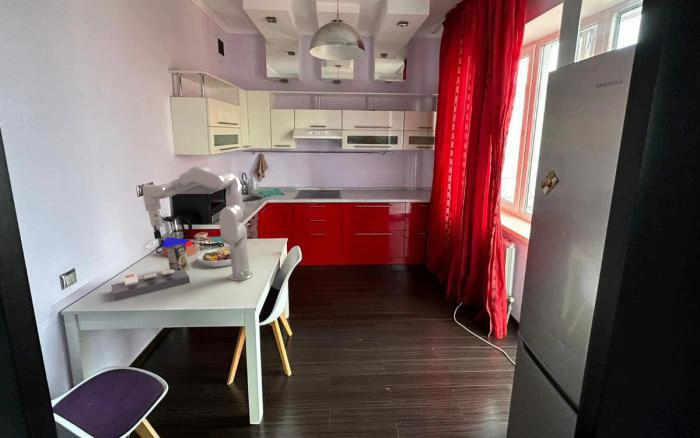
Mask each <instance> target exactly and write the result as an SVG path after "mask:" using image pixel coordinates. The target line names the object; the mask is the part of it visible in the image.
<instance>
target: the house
mask: <svg viewBox="0 0 700 438" xmlns="http://www.w3.org/2000/svg"><path fill="white" fill-rule="evenodd" d="M176 244H185V246H186V254H187V258H188V257H190V256H193V255H196V254H197V253H198V252H197V251H198V250H197V244H196V243H195V242H194V241H192V240H190V239H186V238H178V237H168V236H167V237H166V238H165V239H164V241H163V242H162V244H161V246H160V247H161V250H162V255H163V256H164V257H165V256H166V257H168V253H167V248H169V247H172V246H174V245H176ZM195 253H196V254H195Z"/></svg>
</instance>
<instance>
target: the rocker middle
mask: <svg viewBox="0 0 700 438" xmlns="http://www.w3.org/2000/svg"><path fill="white" fill-rule="evenodd" d="M157 275H158V274H157V272H156V273H149V274H144V275H142V278H144V280H145V279H150V278H154V277H156V276H157Z"/></svg>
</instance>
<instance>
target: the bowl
mask: <svg viewBox="0 0 700 438" xmlns="http://www.w3.org/2000/svg"><path fill="white" fill-rule="evenodd" d="M214 248H215V249H207V250H204V251H203V252H201V253H199V254H198V255H197V261H198V262H199V264H200V265H202V266H203V267H208V268H223V267H228V266H231V257H230V246H220V247H219V248H217V247H214Z"/></svg>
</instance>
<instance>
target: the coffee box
mask: <svg viewBox="0 0 700 438" xmlns="http://www.w3.org/2000/svg"><path fill="white" fill-rule="evenodd" d="M167 253H168V256H167V259H168V260H167V261H168V266H169V270H172V269H173V270H175V271H178V270H183V269H184V270H185V272H186V271H189V268H190V267H189V264H188V263H189V262H188V257H187V254H186V246H185V244H176V245H174V246H172V247H169V248H167Z"/></svg>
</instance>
